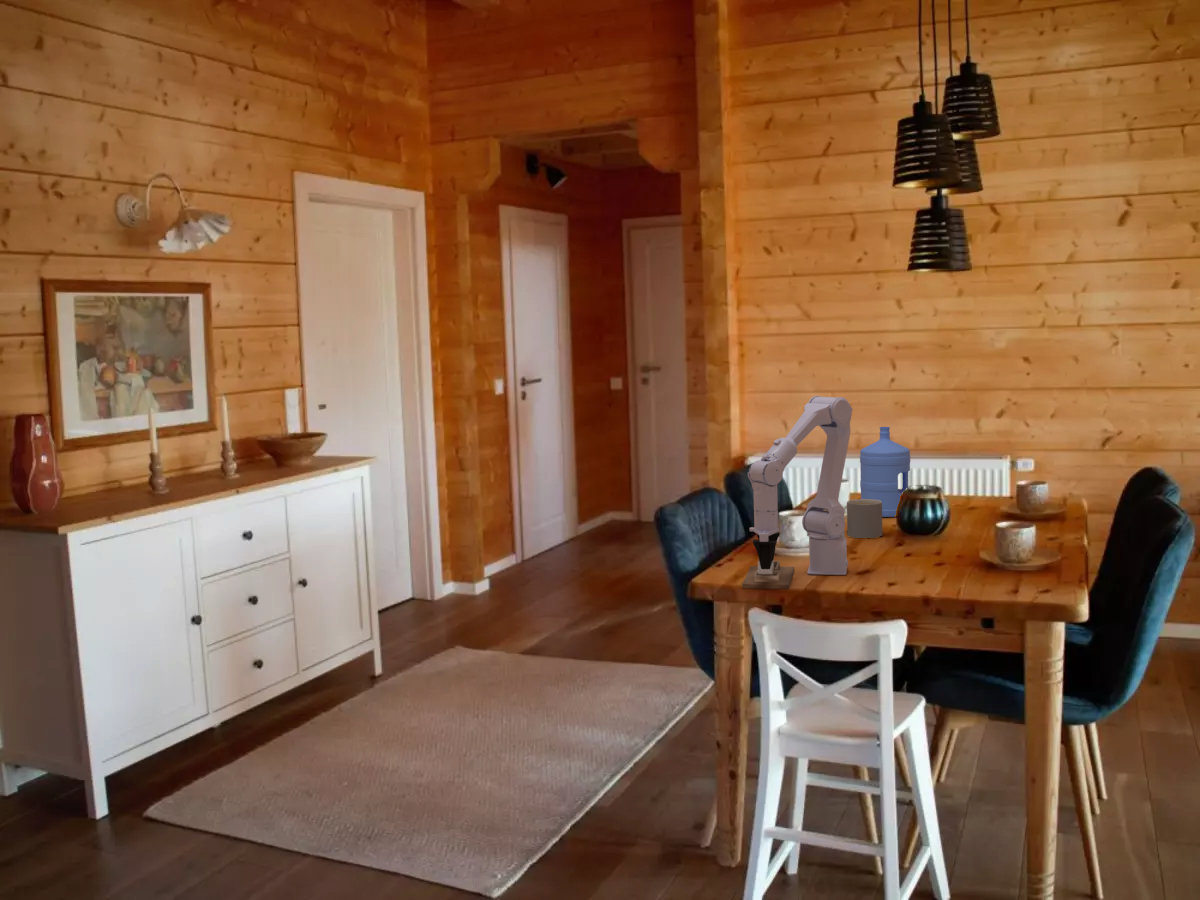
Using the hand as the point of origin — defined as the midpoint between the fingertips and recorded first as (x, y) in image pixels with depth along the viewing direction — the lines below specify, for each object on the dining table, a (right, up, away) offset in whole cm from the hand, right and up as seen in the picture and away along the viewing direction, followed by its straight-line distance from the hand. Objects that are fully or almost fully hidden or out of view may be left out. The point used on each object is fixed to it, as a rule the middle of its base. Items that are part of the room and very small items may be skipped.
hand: (767, 565), depth 276 cm
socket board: (+1, -4, +5) cm, 6 cm away
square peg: (0, -3, 0) cm, 3 cm away
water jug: (+51, +7, +89) cm, 103 cm away
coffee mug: (+37, +3, +57) cm, 68 cm away
